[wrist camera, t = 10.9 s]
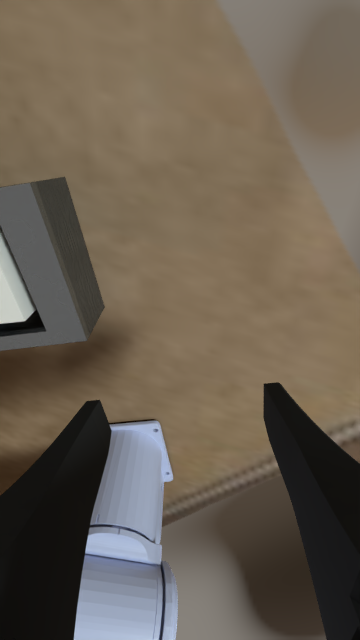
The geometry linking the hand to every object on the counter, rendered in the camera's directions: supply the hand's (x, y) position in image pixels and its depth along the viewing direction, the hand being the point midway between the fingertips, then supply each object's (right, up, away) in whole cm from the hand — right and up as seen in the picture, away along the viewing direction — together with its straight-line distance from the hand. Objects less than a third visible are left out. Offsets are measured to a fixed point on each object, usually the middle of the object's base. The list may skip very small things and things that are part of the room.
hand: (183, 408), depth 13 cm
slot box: (-11, +8, +7) cm, 15 cm away
